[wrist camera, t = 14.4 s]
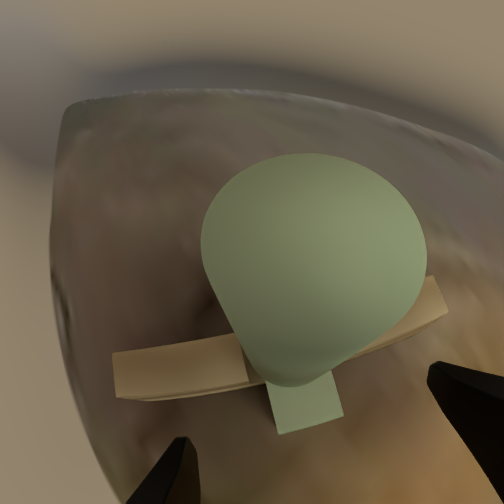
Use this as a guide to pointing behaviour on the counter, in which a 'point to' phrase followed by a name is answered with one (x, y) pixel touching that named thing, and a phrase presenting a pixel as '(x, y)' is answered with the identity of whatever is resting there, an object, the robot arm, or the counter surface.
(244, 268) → the green joystick knob
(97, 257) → the counter surface
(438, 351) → the counter surface
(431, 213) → the counter surface
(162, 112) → the counter surface
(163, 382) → the birch slotted plate
